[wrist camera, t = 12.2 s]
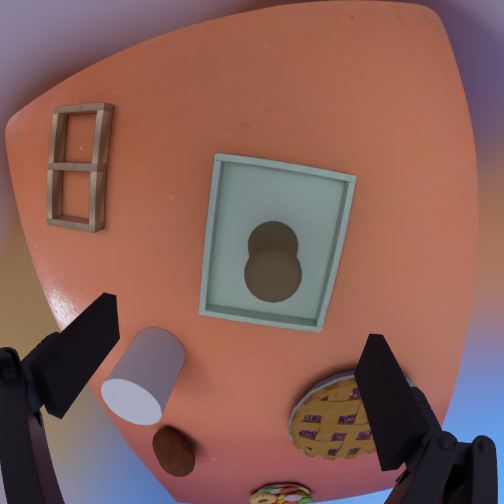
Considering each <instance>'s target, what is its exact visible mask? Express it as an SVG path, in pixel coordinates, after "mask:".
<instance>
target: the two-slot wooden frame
mask: <svg viewBox="0 0 504 504" xmlns="http://www.w3.org/2000/svg"><path fill="white" fill-rule="evenodd" d="M113 109H114V105H112V104H108V103H90V104H78V105H67V106H58V107H54V114H53V120H52V128H51V137H50V148H49V161H48V183H47V225H51V226H57V227H63V228H69V229H75V230H81V231H87V232H94V233H95V232H97V231H99V230H102V229H104V205H105V184H106V170H107V158H108V148H109V139H110V131H111V123H112V116H113ZM86 113H97V117H96V124H95V132H94V141H93V151H92V162H91V163H89V162H64V150H65V140H66V131H67V123H68V116H69V115H72V114H86ZM63 170H67V171H88V172H91V176H90V197H89V219H84V218H77V217H70V216H62V180H63Z"/></svg>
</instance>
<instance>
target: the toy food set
mask: <svg viewBox="0 0 504 504" xmlns="http://www.w3.org/2000/svg"><path fill="white" fill-rule="evenodd" d="M249 501H250V503H251V504H306V503H310V502H312V501H313V497H311V496H310V492H309V491H308V490H307V489H306V488H304V487H303V486H300V485H297V484H290V483H279V484H272V485H268V486H265V487H263V488H262V489H260V490H259V491H258V492H257V493H255V494H253V495H251V496H250V497H249Z"/></svg>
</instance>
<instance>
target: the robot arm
mask: <svg viewBox="0 0 504 504" xmlns="http://www.w3.org/2000/svg"><path fill="white" fill-rule="evenodd" d="M119 339H120V334H119V324H118V313H117V300H116V295H112V294H108V293H103V294H102V295H101V296H100V297H98V298H97V299H96V300H95V301H94V302H93V303H92V304H91V305H90V306H89V307H88V308H86V309H85V310H84V311H83V312H82V313H81V314H80V315H79V316H78V317H77V318H76V319H75V320H74V321H73V322H72V323H70V324H69V325H68V326H67V327H66V328H65V329H64V330H63V331H62V332H61V333H58V332H54V333H52V334H50V335H48V336H46V337H45V338H44V339H43V340H42V341H41V343H39V344H38V345H37V346H36V348H34V349H33V350H32V351H31V352H30V353H29V354H28V355H27V356H26V357H25V358H24V359H23V360H22V361H20V359H19V356H18V353H17V351H16V350H15V349H13V348H10V347H3V348H0V464H1V471H2V477H3V483H4V489H5V494H6V498H7V503H8V504H65V503H64V501H63V497H62V494H61V491H60V489H59V485H58V482H57V478H56V475H55V472H54V468H53V464H52V460H51V456H50V452H49V448H48V444H47V440H46V434H45V429H44V424H43V419H42V413H41V411H40V408H41V407H42V406H43V404H44V405H45V408H46V410H47V412H48V413H49V414H51V415H53V416H55V417H57V418H60V419H62V418H63V416H64V415H65V413H66V412H67V411H68V409H69V408H70V406H71V405H72V403H73V402H74V401H75V399H76V398H77V396H78V395H79V393H80V392H81V391H82V389H83V388H84V386H85V385H86V384H87V382H88V381H89V380H90V378H91V377H92V375H93V374H94V373H95V371H96V370H97V369H98V367H99V366H100V364H101V363H102V362H103V360H104V359H105V358H106V356H107V355H108V354H109V352H110V351H111V350H112V348H113V347H114V346H115V344H116V343H117V342H118V340H119ZM354 377H355V380H356V383H357V386H358V389H359V393H360V396H361V399H362V402H363V406H364V409H365V412H366V416H367V419H368V422H369V426H370V429H371V433H372V436H373V440H374V444H375V447H376V451H377V455H378V458H379V462H380V466H381V470H382V471H389V470H397V469H398V468H399V467H400V466H401V465H402V464H403V463H404V462H405V465H406V470H405V471H404V472H403V473H402V474H401V475H400V476H399V477H398V478H397V479H396V480H395V482H397V481H398V482H397V484H396V485H395V487H394V489H393V490H392V492H391V493H390V495H389V497H388V498H387V500H386V501H385V503H384V504H498V479H497V478H498V476H497V457H496V448H495V444H494V442H493V441H492V440H491V439H490V438H488V437H487V436H484V435H480V436H477V437H476V438H475V439H474V440H473V442H472V443H464V442H458V441H457V439H456V438H455V436H454V435H452V434H451V433H449V432H446V431H442V429H441V427H440V425H439V423H438V421H437V419H436V417H435V415H434V413H433V411H432V409H431V407H430V405H429V403H428V401H427V399H426V397H425V395H424V393H423V392H422V391H421V390H419V389H418V388H417V387H410V386H409V384H408V382H407V380H406V378H405V376H404V374H403V372H402V370H401V368H400V366H399V364H398V363H397V361H396V359H395V357H394V355H393V353H392V351H391V349H390V347H389V346H388V344H387V342H386V340H385V338H384V336H383V335H381V334H369V337H368V339H367V342H366V345H365V347H364V350H363V353H362V355H361V358H360V360H359V363H358V365H357V368H356V370H355V373H354Z"/></svg>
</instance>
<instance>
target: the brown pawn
mask: <svg viewBox="0 0 504 504" xmlns="http://www.w3.org/2000/svg"><path fill="white" fill-rule="evenodd" d="M248 252H249V258H248V260H247V263H246V265H245V268H244V279H245V283H246V286H247V288H248V289H249V291H250V292H251V294H252V295H254V296H255V297H256V298H258V299H259V300H262V301H265V302H271V303H276V302H281V301H284V300H286V299H288V298H290V297H291V296H292V295H293V294H294V293H295V292H296V291H297V289H298V287H299V285H300V283H301V280H302V269H301V264H300V262H299V260H298V259H297V253H298V240H297V236H296V234H295V233H294V231H293V230H292V229H291V228H290V227H289V226H288V225H286V224H284V223H282V222H279V221H268V222H264V223H262V224H260V225H259V226H257V227H256V228H255V229H254V230H253V231H252V232H251V234H250V237H249V239H248Z"/></svg>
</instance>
